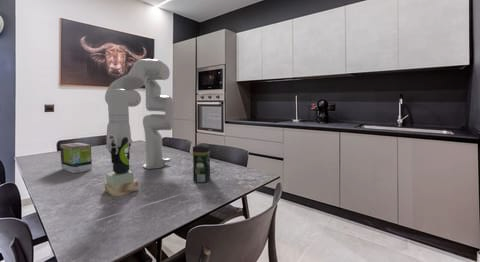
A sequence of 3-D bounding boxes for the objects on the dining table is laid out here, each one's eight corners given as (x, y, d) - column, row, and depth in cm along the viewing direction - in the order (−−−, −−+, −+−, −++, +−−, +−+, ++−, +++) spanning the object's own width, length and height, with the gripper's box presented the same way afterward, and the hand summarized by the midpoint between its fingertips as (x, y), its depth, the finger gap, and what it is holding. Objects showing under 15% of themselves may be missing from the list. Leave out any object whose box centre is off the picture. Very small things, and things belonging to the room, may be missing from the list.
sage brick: (126, 177, 106) (125, 168, 105) (133, 181, 100) (132, 172, 100) (107, 182, 100) (105, 173, 99) (114, 187, 95) (112, 177, 94)
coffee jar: (196, 177, 122) (196, 141, 120) (211, 177, 121) (211, 142, 119) (191, 183, 112) (190, 145, 110) (207, 183, 112) (207, 145, 110)
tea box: (93, 169, 134) (91, 144, 132) (73, 173, 125) (71, 146, 124) (80, 165, 142) (78, 141, 140) (60, 169, 134) (59, 143, 132)
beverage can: (110, 171, 99) (108, 136, 98) (125, 168, 104) (123, 135, 103) (117, 174, 96) (115, 138, 94) (132, 171, 100) (130, 136, 99)
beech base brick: (130, 185, 108) (129, 175, 107) (139, 191, 101) (138, 180, 100) (105, 193, 101) (104, 182, 100) (114, 199, 94) (112, 188, 93)
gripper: (123, 117, 106) (125, 156, 108) (95, 120, 89) (98, 166, 92) (139, 118, 105) (140, 157, 107) (113, 120, 88) (115, 167, 90)
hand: (121, 160), depth 99 cm, fingers closed on beverage can, 6 cm apart
